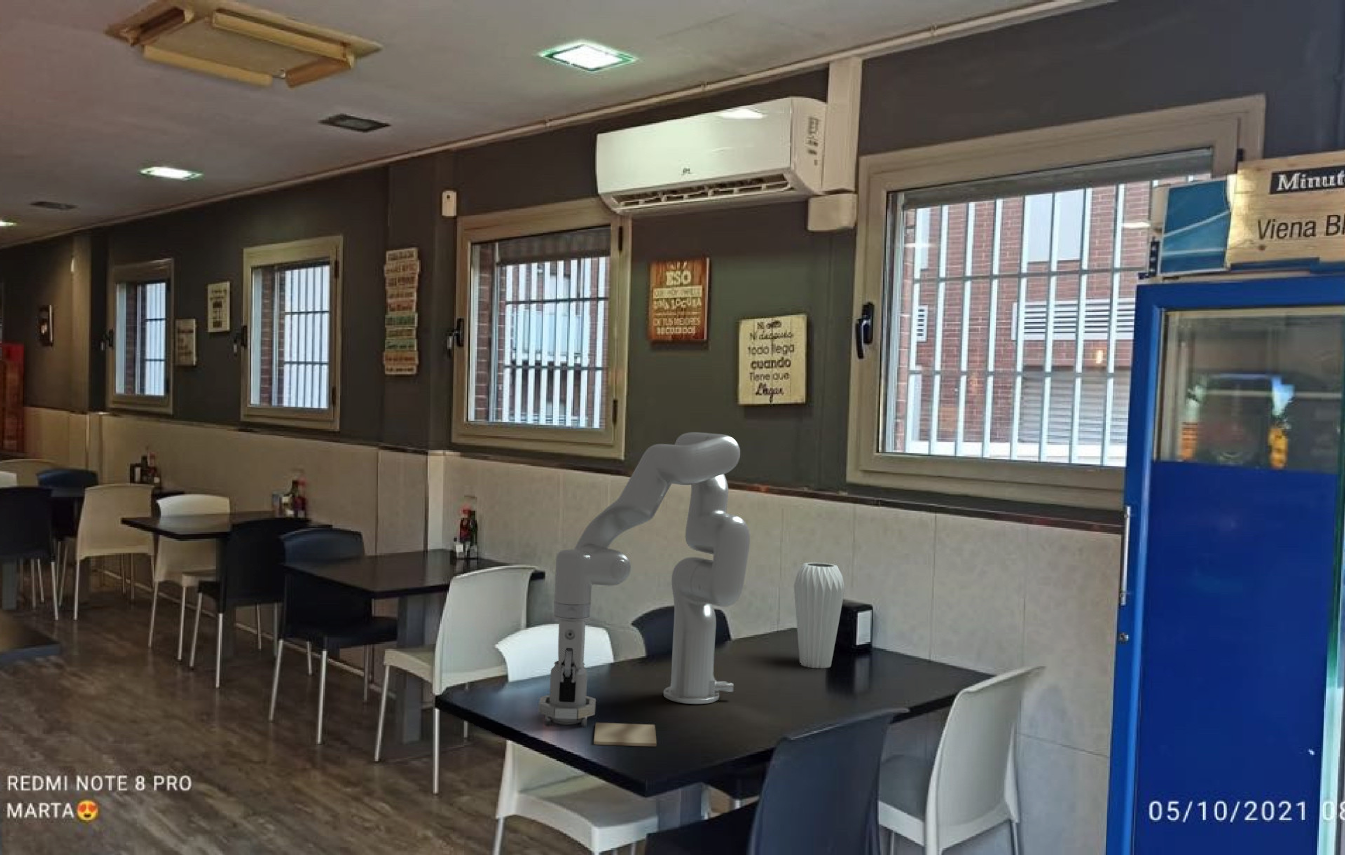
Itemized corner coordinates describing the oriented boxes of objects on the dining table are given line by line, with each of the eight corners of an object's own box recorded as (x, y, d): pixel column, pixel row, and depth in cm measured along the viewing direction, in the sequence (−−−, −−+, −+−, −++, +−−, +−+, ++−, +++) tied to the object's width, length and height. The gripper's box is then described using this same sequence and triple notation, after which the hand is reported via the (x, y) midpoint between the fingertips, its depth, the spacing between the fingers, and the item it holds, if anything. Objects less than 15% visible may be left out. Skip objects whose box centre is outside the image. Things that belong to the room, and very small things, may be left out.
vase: (805, 656, 285) (810, 559, 284) (849, 665, 277) (854, 565, 277) (780, 664, 274) (785, 564, 274) (826, 673, 266) (831, 570, 266)
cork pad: (654, 727, 213) (654, 724, 213) (656, 746, 201) (656, 743, 201) (595, 725, 213) (595, 722, 213) (593, 744, 201) (593, 741, 201)
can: (579, 727, 211) (581, 668, 211) (543, 723, 213) (546, 664, 213) (589, 717, 219) (592, 660, 218) (555, 713, 220) (557, 656, 220)
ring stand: (595, 713, 222) (596, 694, 222) (593, 729, 210) (594, 709, 210) (541, 711, 221) (542, 692, 221) (536, 727, 210) (537, 707, 210)
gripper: (588, 619, 207) (584, 708, 207) (591, 603, 224) (587, 685, 224) (550, 618, 206) (546, 707, 207) (556, 602, 224) (552, 684, 224)
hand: (568, 695), depth 216 cm, fingers closed on can, 7 cm apart
